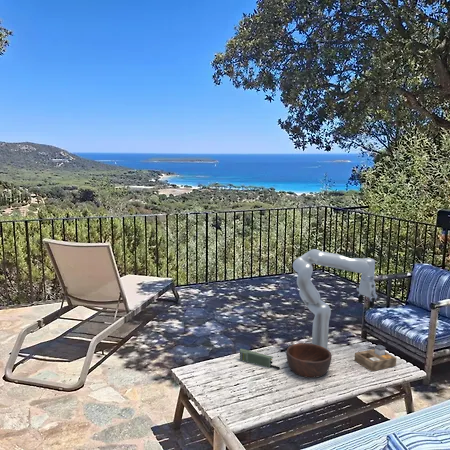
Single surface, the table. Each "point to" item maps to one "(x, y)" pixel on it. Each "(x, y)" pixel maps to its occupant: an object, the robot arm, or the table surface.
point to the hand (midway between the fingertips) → (365, 304)
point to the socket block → (375, 360)
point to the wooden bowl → (308, 359)
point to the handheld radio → (256, 358)
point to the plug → (380, 350)
